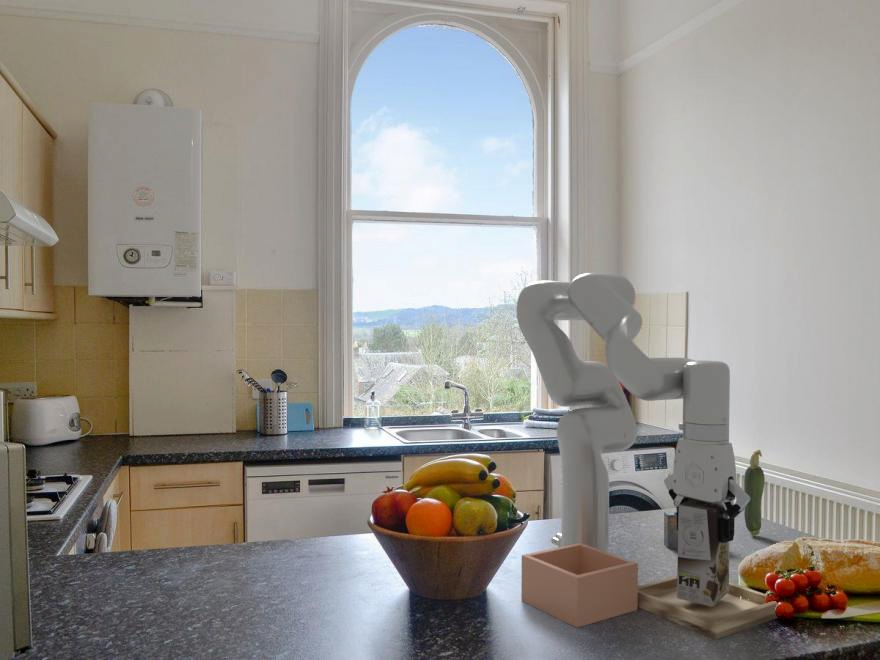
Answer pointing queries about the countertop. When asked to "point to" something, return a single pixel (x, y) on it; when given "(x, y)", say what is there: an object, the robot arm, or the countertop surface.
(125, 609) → the countertop surface
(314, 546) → the countertop surface
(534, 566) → the square storage bin
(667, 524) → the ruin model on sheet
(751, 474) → the vegetable
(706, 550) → the coffee box
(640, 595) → the tray
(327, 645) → the countertop surface
